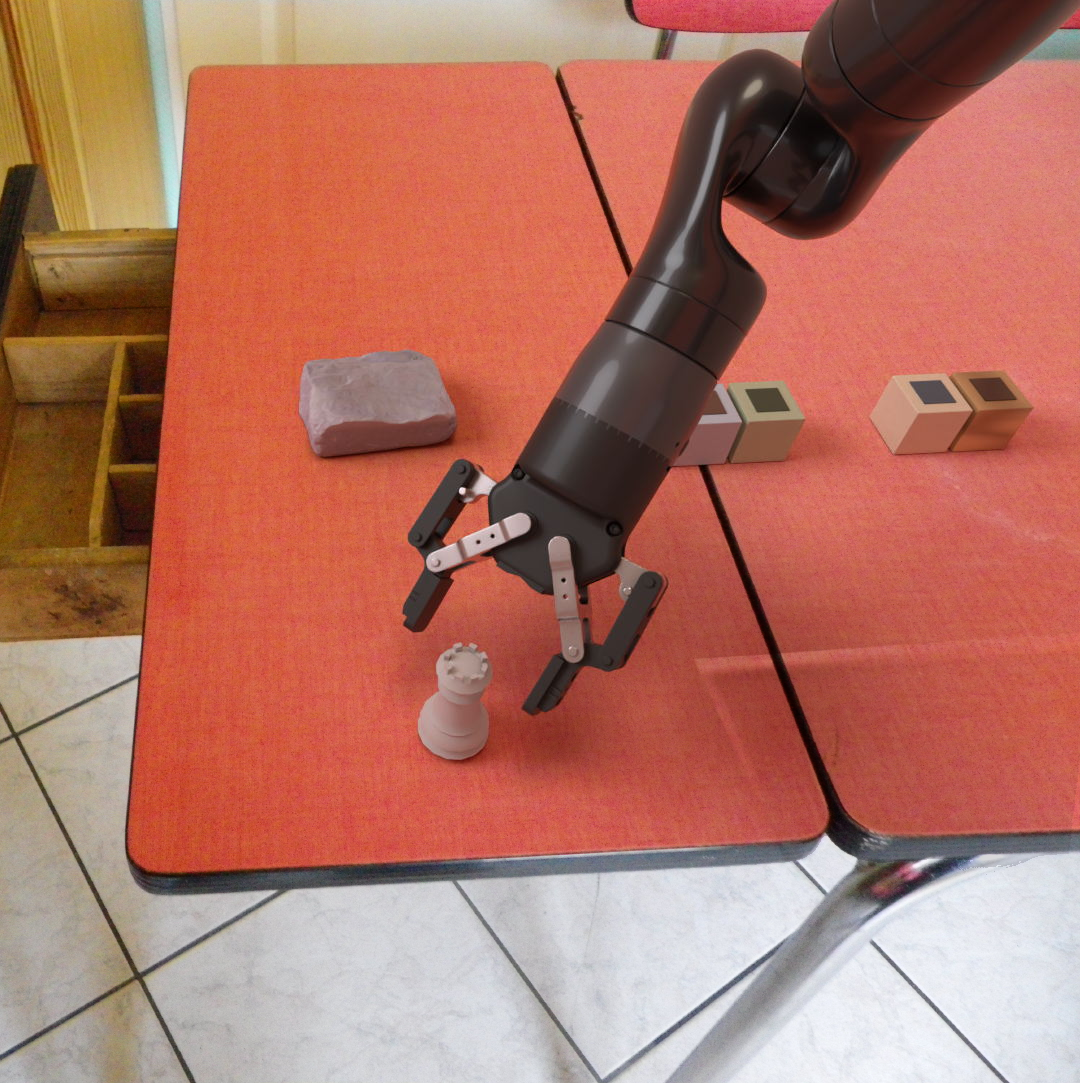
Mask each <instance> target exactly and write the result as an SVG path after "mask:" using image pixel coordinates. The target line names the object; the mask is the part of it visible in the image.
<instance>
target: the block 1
mask: <svg viewBox="0 0 1080 1083" xmlns="http://www.w3.org/2000/svg"><path fill="white" fill-rule="evenodd" d="M726 390H727V388H726V387H725V385H724V384H723V383H722V382H720V383H719V382H718V383H717V385H716V387H715V389H714V391H713V393H712V395H711V397H710V399H709V401H708V404H707V406H706V409H705V411H704V413H703V415H702V417H701V419H700V421H699V423H698V425H697V427H696V428H695V430H694V432H693V433H692V435H691V437H690V439H689V440H690V441H689V443H688V445H687V447H686V449H685V450H684V452H683V453H682V455H681V456H679V457H678V458H677V459H676V461H675V463H674V464H673V466H672V467H685V466H686V467H687V466H705V465H722V464H725V463H726V461H727V458H728V454H729V451H730V449H731V447H732V445H733V442H734V440H735V438H736V435H737V433H738V431H739V428H740V426H741V424H742V420H741V418H740V416H739V414H738V413H737V411H736V409H735V407H734V405H733V403H732V401H731V399H730V397H729V395H728V393H727V391H726Z"/></svg>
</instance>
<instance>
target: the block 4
mask: <svg viewBox="0 0 1080 1083" xmlns="http://www.w3.org/2000/svg"><path fill="white" fill-rule="evenodd" d="M948 377H949V379H950V380H951V381H952V383H953V384H954V386H955V387H956V388H957V390H958V391H959V392H960V394H961V395H962V396H963V398H964V399H965V400H966V402H967V403H968V404H969V406H970V407H971V409H972V410H973V411H972V413H971V414H970V416H969V417H968V419H967V420H966V422H965V423H964V425H963V426H962V428H961V429H960V431H959V432H958V434H957V435H956V437H955V438H954V440H953V441H952V443H951V444H950V446H949V447H948V449H949V450H950V451H951V452H972V451H989V450H992V451H993V450H1004V449H1005V448H1007V445H1008V444H1009V443H1010V441H1011V440H1012V438H1014V436H1015V434H1016V433H1018V432H1017V431H1018V430H1019V429H1020V428H1021V426H1022V425H1023V424H1024V422H1025V421H1026V419H1027V418H1028V416H1030V414H1031V412H1032V411H1033V410H1034V405H1032V403H1031V401H1030V400H1028V398H1027V397H1026V395H1025V394H1024V393H1023V392H1022V390H1021V389H1020V388H1019V387H1018V386H1017V384H1016V383H1015V382H1014V381H1013V379H1012V378H1011V377H1010V376H1009V375H1008V373H1007V372H1006V371H1005V370H1004V369H1003V370H984V371H983V370H982V371H962V372H960V371H959V372H951V373H950V375H949V376H948Z"/></svg>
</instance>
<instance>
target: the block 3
mask: <svg viewBox="0 0 1080 1083" xmlns="http://www.w3.org/2000/svg"><path fill="white" fill-rule="evenodd" d="M949 377H950V376H948V374H947V373H946V372H941V373H939V372H937V373H918V374H898V375H897V374H895V375H894V374H893V375H891V377H890V379H889V381H888V383H887V385H886V387H885V388H884V390H883V391H882V393H881V395H880V397H879V399H878V401H877V402H876V404H875V406H874V408H873V410H872V411H871V413H870V415H869V419H870V421H871V423H872V424H873V425H874V427H875V429H876V430H877V432H878V433H879V436H880V437H881V438H882V439H883V441H884V443H885V444H886V446H887V447H888V449H889V451H890V452H891V454H892V455H894V456H895V455H911V454H914V455H915V454H928V453H929V454H935V453H946V452H947V451H948V450H949V446H950V444H951V443H952V441H953V440H954V438H955V437H956V435H957V434H958V432H959V431H960V429H961V428H962V426H963V425H964V423H965V422H966V420H967V419H968V417H969V416H970V414H971V413H972V411H973V410H972V409H971V407H970V406H969V404H968V403H967V402H966V400H965V399H964V398H963V396H962V395H961V394H960V392H959V391H958V390H957V388H956V387H955V386H954V384H953V383H952V381H951V380H950V379H949Z"/></svg>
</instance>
